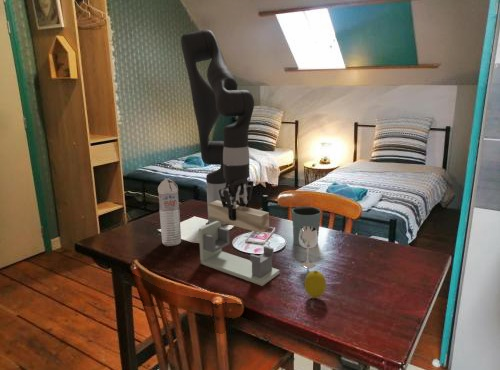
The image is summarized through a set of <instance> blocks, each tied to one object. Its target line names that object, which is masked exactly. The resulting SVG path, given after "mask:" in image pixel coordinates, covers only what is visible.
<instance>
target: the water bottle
mask: <svg viewBox="0 0 500 370" xmlns="http://www.w3.org/2000/svg"><path fill="white" fill-rule="evenodd" d="M163 177H164V179H163V180H162V181H161V182H160V184H159V185H158V187H157V192H158V202H159V220H160V222H159V223H160V233H161V241H162V242H161V243H162V245H164V246H165V247H174V246H178V245H180V244H181V242H182V231H181V220H180V219H181V217H180V216H181V215H180V213H181V212H180V206H179V202H180V201H179V187H178V184H176V182H175V181H173V180H172V179H171V175H170V174H165V175H163Z"/></svg>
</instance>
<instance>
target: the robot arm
mask: <svg viewBox="0 0 500 370" xmlns="http://www.w3.org/2000/svg"><path fill="white" fill-rule="evenodd" d="M180 45H181V51H182V55H183V59H184V63H185V67H186V71H187V76H188V79H189V86H190V91H191V99H192V100H191V101H192V104H193V111H194V114H195V115H194V116H195V118H196V119H195V120H196V125H197V129H198V138H199V146H200V147H199V148H200V157H201V160H202V163H204V164H205V165H210V166H211V165H213V166H214V165H215V166H216V165H217V166H219V169H217V170H215V171H212V172H209V173H207V174H206V176H205V178H206V201H207V203H206V204H207V222H208V224H210V223H212V222H215V220H212V219H209V207H208V203H211V202H214V201H216V200H218V201H221V202H222V205H223V207H225V208H228V215H229V219H230V220H232V221H235V220H236V205H237V202H238V205H239V206H243V207H247V204H248V201H251V200H252V194H253V189H254V184H255V183H254V180H253V181H252V180H248V179H249V178H250V175H251V174H250V151H249V149H250V148H249V129H250V124H251V121H252V120H251V119H252V116H253V112H254V109H255V108H254V107H255V99H254V96H253V94H252V92H250V91H249V90H246V89H238V84H237V81H236V79H235V77H234V75H233V74H232V72H231V71H230V70H229V67H228V66H227V63H226V61H225V57H224V54H223V53H222V50H221V48H220V45H219V42H218V40H217V38H216V36H215V33H213V31H211V30H210V29H202V30H197V31H191V32H187V33H184V34H182V35H181V38H180ZM208 60H210V62H209V65H208V67H207V72H206V77H207V80H206V79H205V78H204V77H203V75H202V74H201V72H200V71H199V69H198V67H197V63H199V62H203V61H208ZM220 115H221V116H223V117H226V118H228V117H237V119H236V121H235V122H233V123H231V124H228V125H225V126H224V127H223V130H222V131H223V132H222V133H223V134H222V135H223V137H222V138H223V140H210V134H211V132H212V129H213V128H214V126H215V125H216V123H217V122H218V119H219V117H220ZM226 202H227V203H226ZM225 225H226V226H227V224H226V223H222V222H221V226H225Z"/></svg>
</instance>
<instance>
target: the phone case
mask: <svg viewBox="0 0 500 370" xmlns="http://www.w3.org/2000/svg"><path fill="white" fill-rule="evenodd" d="M269 229H271V230H272V231H271V232H270V233H269V235H267V237H266V238H265V240H264V241H257V240H249V237H251V236H253V234H254V233H256V232H255V231H251V232H250V234H248V236H247V237H245V239H244V241H245V243H246V242H252V243H251V244H254V243H258V244H257V245H262V244H264V245H265V244H266V243H267V242H268V240H269V239H270V238H271V237H272V235H273V234H274V233H275V231H276V227H275V226H274V227H273V226H269ZM270 236H271V237H270ZM269 237H270V238H269ZM268 238H269V239H268ZM266 241H267V242H266ZM265 242H266V243H265Z"/></svg>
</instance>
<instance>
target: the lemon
mask: <svg viewBox="0 0 500 370" xmlns="http://www.w3.org/2000/svg"><path fill="white" fill-rule="evenodd" d="M304 279H305V280H304V289H305V292H306V293H307V295H308V296H310V297H311V298H313V299H316V298H320V297H321V296H323V295H324V294H325V291H326V288H327V287H326V286H327V281H326V278H325V276H324V274H323V273H322V272H320V271H319V270H312V271H310V272H308V273H307V275H306V276H305V278H304Z"/></svg>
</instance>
